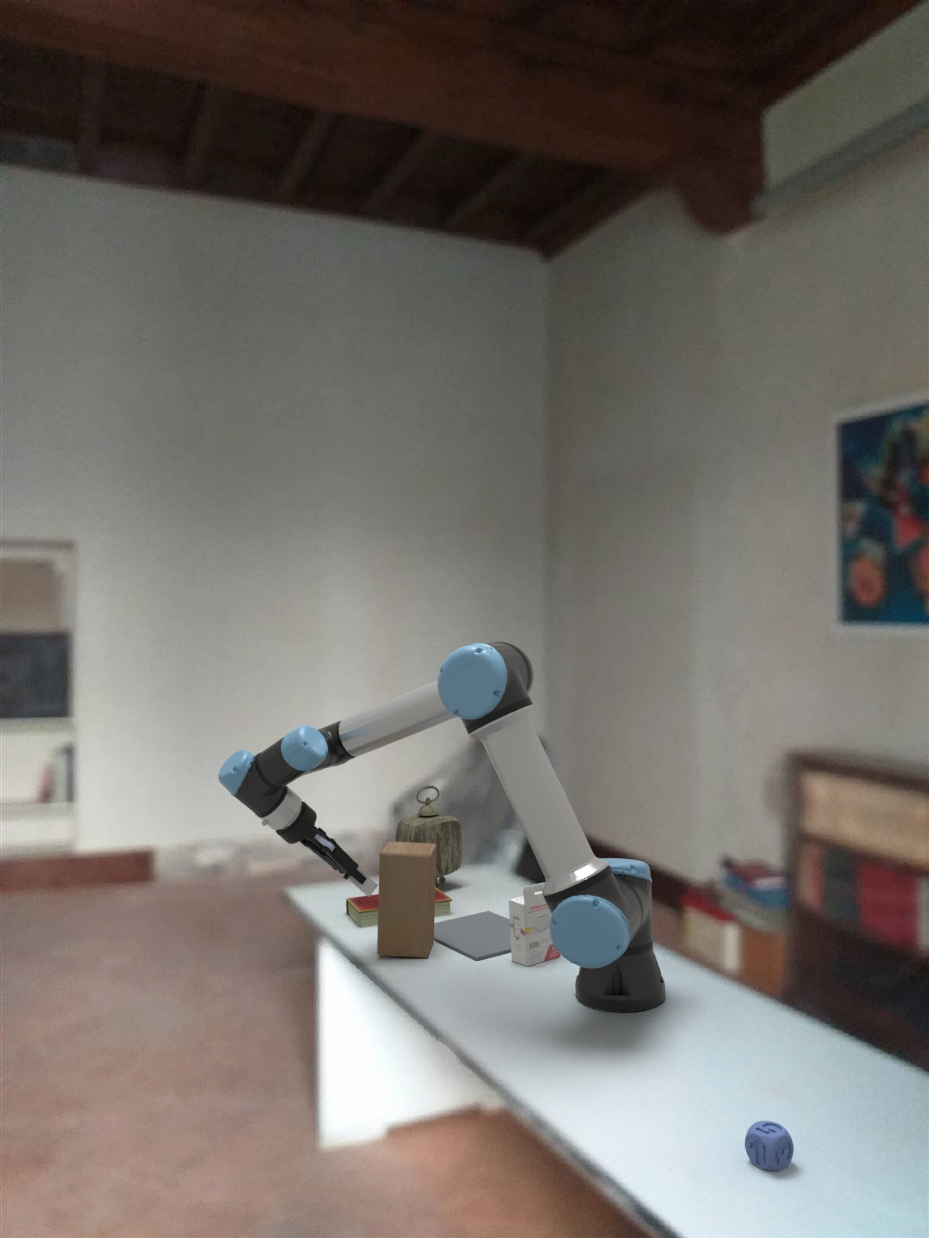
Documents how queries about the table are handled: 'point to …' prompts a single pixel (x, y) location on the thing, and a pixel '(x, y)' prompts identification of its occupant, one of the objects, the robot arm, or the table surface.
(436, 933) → the mat
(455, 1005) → the table surface
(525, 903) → the ink cartridge box
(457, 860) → the tabletop clock
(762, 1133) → the decorative dice
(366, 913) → the hardcover book
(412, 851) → the wooden block
